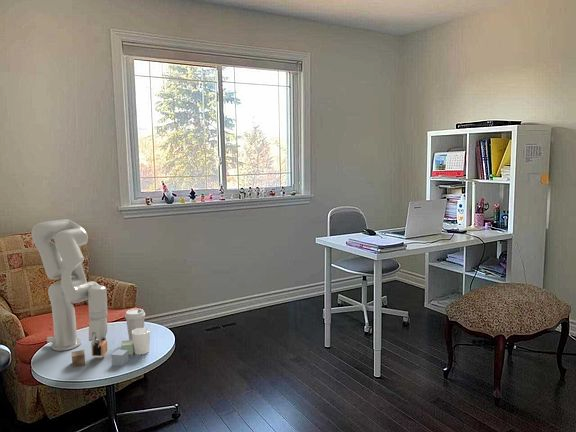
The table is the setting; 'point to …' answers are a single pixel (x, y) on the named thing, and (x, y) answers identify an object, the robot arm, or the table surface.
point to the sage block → (128, 346)
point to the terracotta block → (102, 347)
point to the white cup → (141, 340)
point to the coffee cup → (134, 320)
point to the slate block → (120, 357)
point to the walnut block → (78, 358)
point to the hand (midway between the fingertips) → (99, 351)
